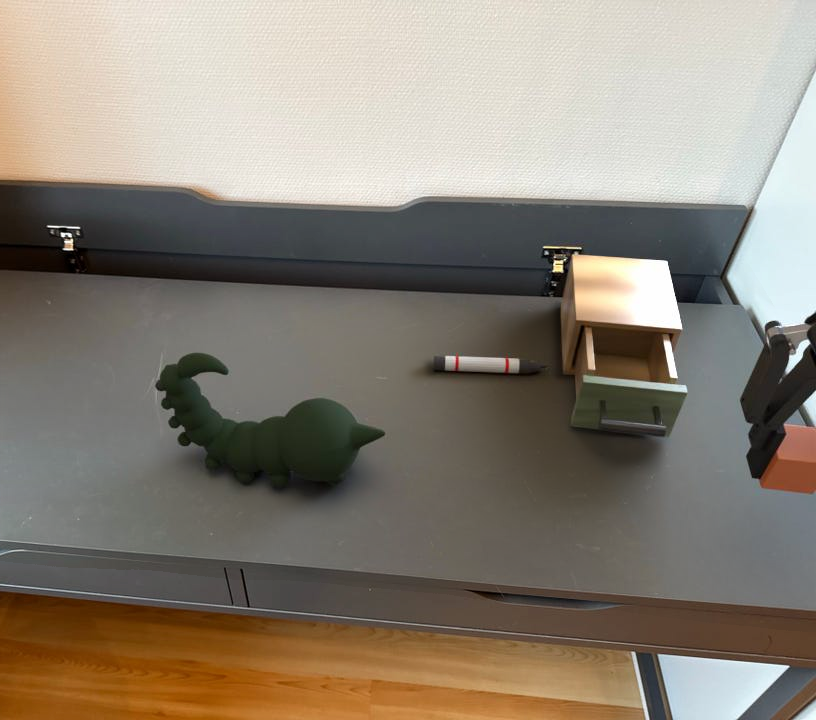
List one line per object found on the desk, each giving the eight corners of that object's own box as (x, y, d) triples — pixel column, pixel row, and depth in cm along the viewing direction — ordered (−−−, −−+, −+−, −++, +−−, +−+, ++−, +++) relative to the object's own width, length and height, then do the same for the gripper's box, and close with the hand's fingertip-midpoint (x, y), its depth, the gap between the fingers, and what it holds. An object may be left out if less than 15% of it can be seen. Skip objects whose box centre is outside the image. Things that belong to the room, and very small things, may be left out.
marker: (433, 372, 97) (434, 362, 95) (433, 363, 98) (434, 352, 97) (547, 377, 95) (550, 366, 94) (546, 367, 96) (548, 356, 95)
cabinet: (661, 384, 93) (682, 329, 86) (562, 374, 95) (575, 319, 89) (649, 314, 103) (667, 260, 97) (560, 307, 106) (571, 253, 99)
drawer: (673, 465, 82) (693, 420, 77) (572, 453, 84) (585, 408, 79) (655, 362, 95) (671, 317, 89) (567, 353, 97) (578, 309, 91)
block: (800, 457, 68) (818, 427, 65) (813, 494, 65) (832, 464, 62) (751, 452, 69) (767, 422, 66) (761, 488, 66) (778, 458, 63)
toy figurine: (183, 494, 86) (385, 513, 80) (132, 384, 73) (367, 396, 67) (209, 436, 92) (397, 449, 86) (166, 326, 80) (382, 331, 74)
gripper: (783, 293, 50) (690, 491, 66) (1071, 314, 47) (900, 516, 63) (759, 235, 55) (678, 430, 71) (1017, 249, 52) (871, 451, 68)
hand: (782, 470), depth 67 cm, fingers closed on block, 4 cm apart
